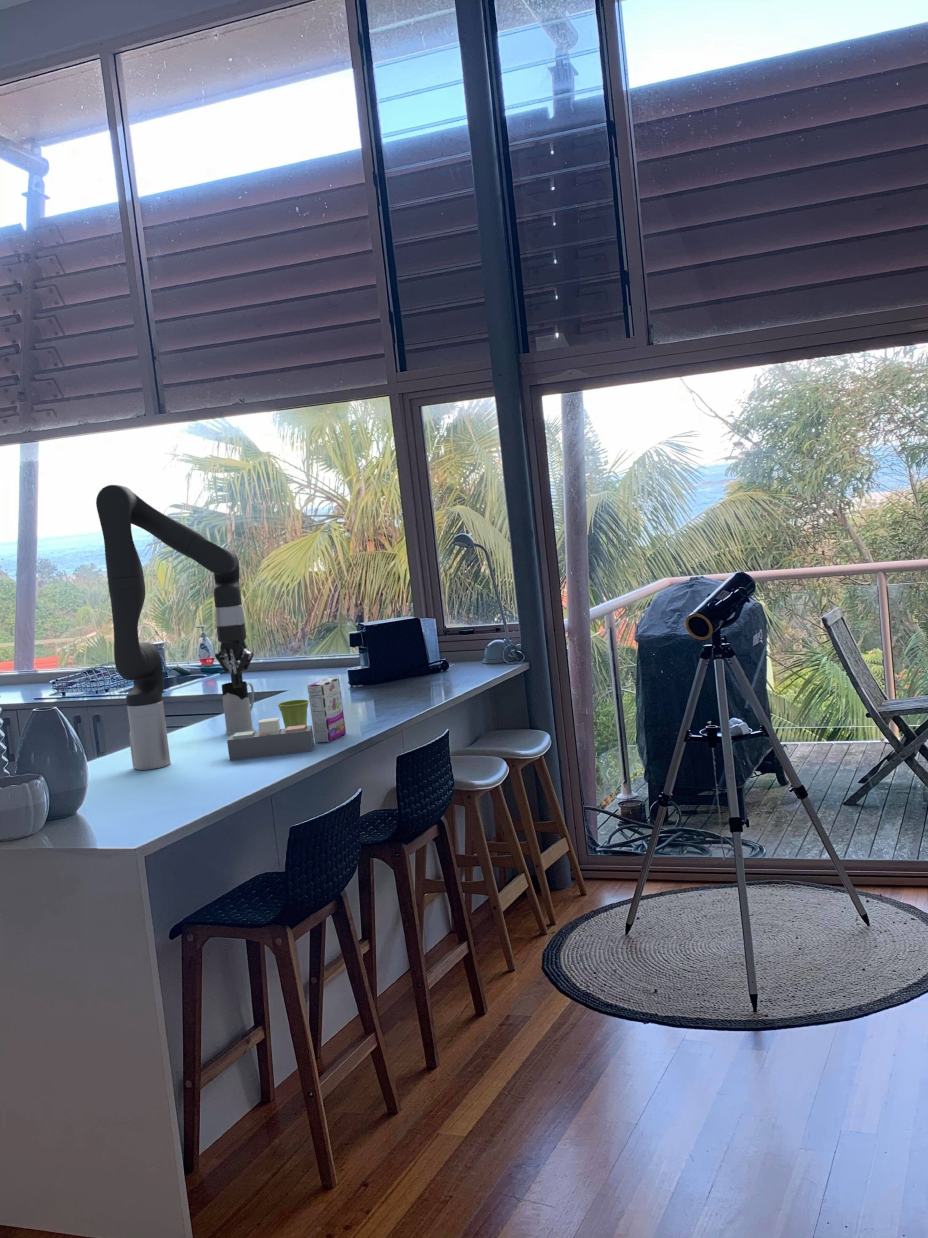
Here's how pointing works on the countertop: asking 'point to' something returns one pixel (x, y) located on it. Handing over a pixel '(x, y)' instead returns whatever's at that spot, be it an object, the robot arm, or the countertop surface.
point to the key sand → (269, 726)
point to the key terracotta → (296, 728)
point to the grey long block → (270, 744)
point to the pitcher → (237, 708)
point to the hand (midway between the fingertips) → (237, 687)
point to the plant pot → (294, 712)
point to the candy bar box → (326, 710)
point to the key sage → (243, 734)
